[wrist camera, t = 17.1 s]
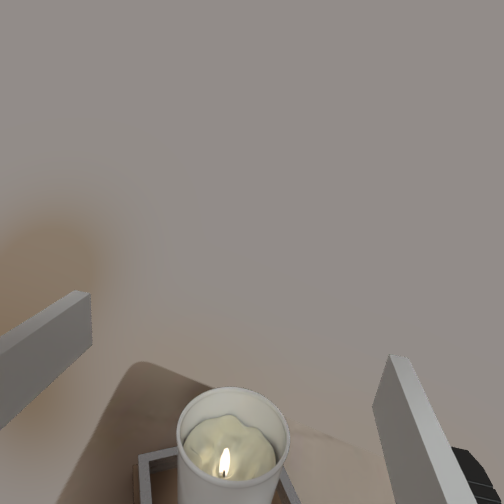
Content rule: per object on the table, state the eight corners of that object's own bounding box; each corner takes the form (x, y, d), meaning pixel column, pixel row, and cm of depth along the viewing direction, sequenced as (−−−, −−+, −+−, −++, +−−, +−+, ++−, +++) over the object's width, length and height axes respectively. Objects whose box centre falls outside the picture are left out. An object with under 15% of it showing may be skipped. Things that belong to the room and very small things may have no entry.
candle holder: (201, 457, 38) (210, 373, 34) (281, 494, 35) (301, 408, 31) (147, 548, 29) (151, 449, 25) (248, 608, 26) (271, 508, 22)
